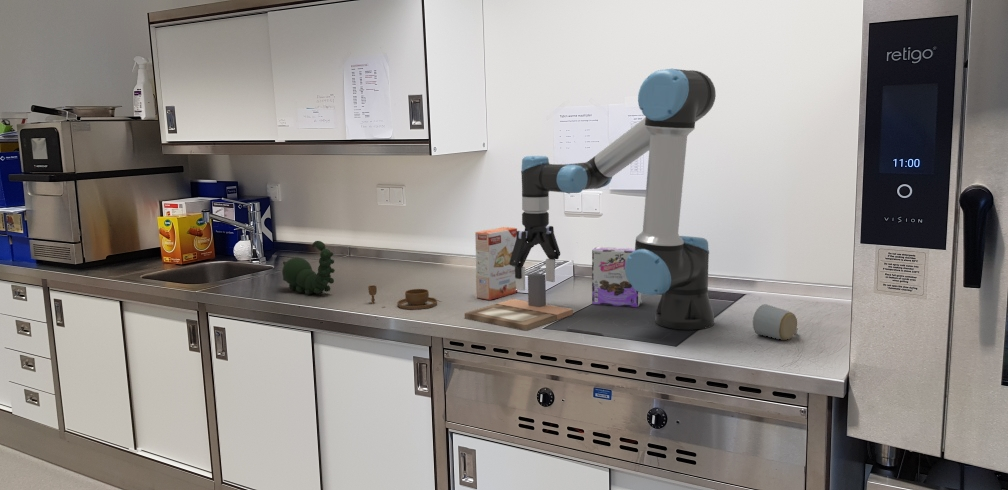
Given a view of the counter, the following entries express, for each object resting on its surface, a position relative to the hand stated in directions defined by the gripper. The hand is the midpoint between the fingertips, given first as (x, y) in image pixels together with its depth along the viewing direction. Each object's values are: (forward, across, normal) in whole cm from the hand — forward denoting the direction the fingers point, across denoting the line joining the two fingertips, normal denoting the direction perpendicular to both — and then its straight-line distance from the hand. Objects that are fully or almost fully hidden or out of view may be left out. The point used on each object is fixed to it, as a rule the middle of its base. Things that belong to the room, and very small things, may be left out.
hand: (535, 285), depth 217 cm
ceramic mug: (+7, -14, +65) cm, 66 cm away
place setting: (+9, +15, -37) cm, 41 cm away
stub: (+7, +2, 0) cm, 7 cm away
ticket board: (+7, +12, 0) cm, 14 cm away
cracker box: (+8, -8, -22) cm, 24 cm away
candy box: (+7, -20, +14) cm, 26 cm away
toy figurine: (+9, +24, -76) cm, 81 cm away
